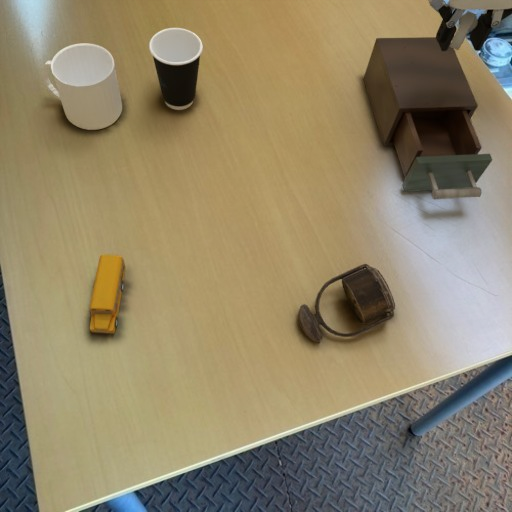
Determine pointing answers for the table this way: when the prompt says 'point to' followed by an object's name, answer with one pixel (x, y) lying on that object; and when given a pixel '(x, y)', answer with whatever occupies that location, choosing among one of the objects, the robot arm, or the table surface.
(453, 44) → the wristwatch
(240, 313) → the table surface
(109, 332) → the toy bus
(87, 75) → the mug
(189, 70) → the dixie cup
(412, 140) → the drawer
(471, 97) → the cabinet
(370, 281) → the mechanical counter
